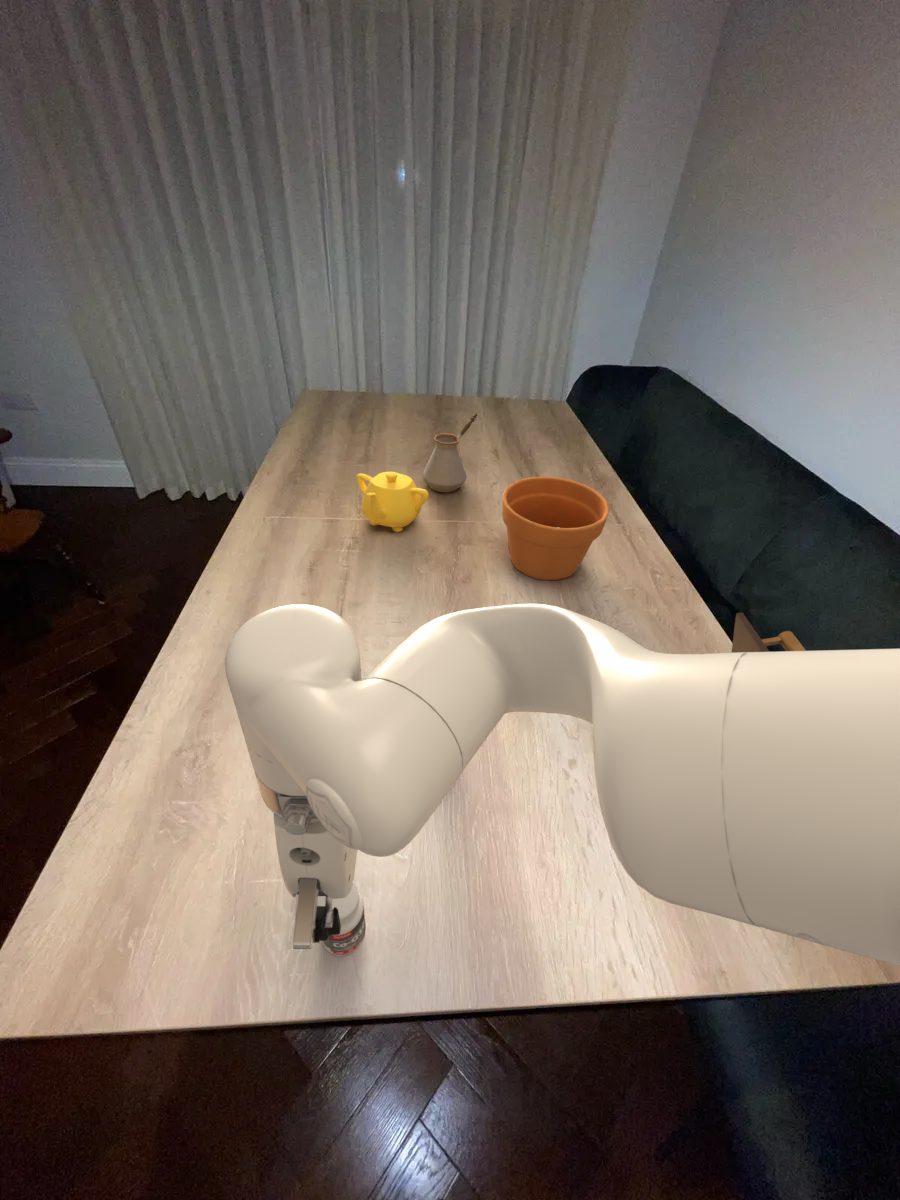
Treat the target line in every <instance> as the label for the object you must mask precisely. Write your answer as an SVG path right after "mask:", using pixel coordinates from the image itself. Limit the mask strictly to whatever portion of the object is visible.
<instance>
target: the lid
mask: <svg viewBox="0 0 900 1200" xmlns="http://www.w3.org/2000/svg"><path fill="white" fill-rule="evenodd" d="M734 619H735V620H734V621H735V622H734V628H733V636H732V637H733V638H732V644H731V645H732V647H731V653H737V652H770V650H769V648H768V647H770V646H776V645H781V646H782V647H783V649H784V651H807V649H805V647H804V646H803V645H802V643H801V642H800V641H799V640H798V637H796V635H794V633H793V631H790V630H785V631H782V632H781V633H779V634H778V636H774V637H768V638H761V637H760V636H759V634H758V632H756V630H755V628H754V627H753V625H752V624H751V622H750V621H749V619H748V618H747V617H746V615H745V614H744V612H741V611H740V612H737V613H735V618H734Z"/></svg>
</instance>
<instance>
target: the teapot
mask: <svg viewBox="0 0 900 1200" xmlns="http://www.w3.org/2000/svg"><path fill="white" fill-rule="evenodd" d="M355 479H356V483H357V485H358V488H359V489H360V491H361V492H362V494H363V497H362V503H361V510H362V512H363V515H364V516H365V517H366V518H367V519H368V520H369V521H370V522H369V523H370V525H372V526H379V525H380V526H383V527H391V528H392V531H393V532H396V533H398V532H399V533H400V532H402V531H403V530H404V527H406V526H408V525H410V524H411V523H412V522H413V521H415V519H416V518H417V517H418V515H419V514H420V512H421V511H422V507H423V506H424V504H425V503H426V502H427V500H428V498H429V492H428V490H426V489H424V488H421V487H417V485H416V483H415V482H414V480H413V479H412V477H410V476H408V475H406V474H402V473H400V472H396V471H382V472H380V473H377V474H376V475H374V477H372V476H370V475H368V474H365V473H361V472H360V473H358V474H356V477H355ZM365 481H367V482H369V483H368V485H367V486H366V482H365Z"/></svg>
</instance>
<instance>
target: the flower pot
mask: <svg viewBox="0 0 900 1200" xmlns="http://www.w3.org/2000/svg"><path fill="white" fill-rule="evenodd" d="M609 514H610V505H609V503H608V501H607V499H606V498H605V497H604V495H602V494H601V493H600V492H598V491H597V490H595V489H594V488H592V487H590V486H588V485H586V484H584V483H581V482H577V481H575V480H571V479H567V478H561V477H555V476H533V477H527V478H522V479H520V480H517V481H514V482H513V483H511V484H509V485H508V486H507V487H506V488H505V489H504V491H503V492H502V502H501V516H502V521H503V523H504V525H505V526H506V534H507V548H508V552H509V557H510V560H511V563H512V565H513V566H514V567H515V568H516V569H517V570H518V571H520V572H522V573H523V574H524V575H526V576H528V577H530V578H534V579H538V580H542V581H559V580H563V579H567V578H568V577H570V576H572V575H573V574H574V573H575V572H576V571H577V569H578V568H579V567H580V565H581V564H582V562H583V560H584V558H585V557H586V555H587V553H588V551H589V549H590V548H591V546H592V544H593V542H594V541H595V540H596V539H597V538H598V537H600V535H601V534H602V532H603V530H604V528H605V525H606V522H607V520H608V517H609Z"/></svg>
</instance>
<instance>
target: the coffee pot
mask: <svg viewBox="0 0 900 1200" xmlns="http://www.w3.org/2000/svg"><path fill="white" fill-rule="evenodd" d="M477 417H478V418H479V419H477ZM475 420H476V421H480V420H481V416H480V415H479V414H478V413H474V414H473V415H472V417H470V418H469V420H468V422H466V423H465V425H464V426H463V427H462V429H461V431H460V432H459V434H458V435H455V434H453V433H438V434H436V435H434V436H433V441H434V442H435V447H434V449H433V451H432V453H431V455H430V457H429V459H428V462H427V463H426V465H425V468H424V470H423V471H422V479H423V480H424V481H423V482H424V483H425V484H426V485H427V486H429V487H430V489H432V490H433V491H436V492H439V493H452V492H455V491H457V490H458V489H459V488H460V487H462V486H463V485H464V484H465V482H466V480H467V478H468V477H467V476H468V475H467V473H466V470H465V467H464V465H463V461H462V459H461V456H460V452H459V451H458V448H457V447H458V444H459V443H460V439H461V437H463V436H464V434H465V433H466V432H467V431H468V430H469V429H470V428H471V426H472V424H473V423H474V422H475Z"/></svg>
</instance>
